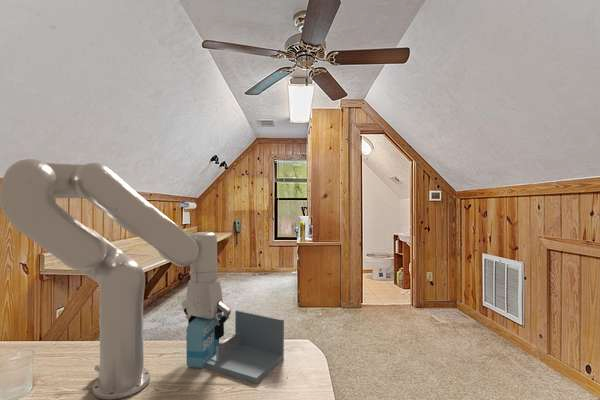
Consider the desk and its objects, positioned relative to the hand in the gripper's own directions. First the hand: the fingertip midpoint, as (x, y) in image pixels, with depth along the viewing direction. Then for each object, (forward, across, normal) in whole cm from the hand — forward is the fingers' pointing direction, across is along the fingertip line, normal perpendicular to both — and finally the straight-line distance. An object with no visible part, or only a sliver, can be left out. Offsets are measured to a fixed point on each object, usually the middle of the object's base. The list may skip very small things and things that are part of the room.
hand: (206, 334), depth 97 cm
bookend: (+5, +5, +2) cm, 8 cm away
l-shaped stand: (+7, +12, +2) cm, 14 cm away
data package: (+7, 0, -1) cm, 7 cm away
